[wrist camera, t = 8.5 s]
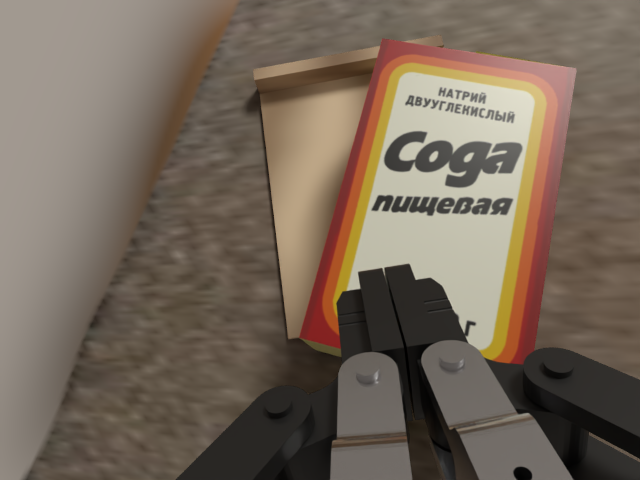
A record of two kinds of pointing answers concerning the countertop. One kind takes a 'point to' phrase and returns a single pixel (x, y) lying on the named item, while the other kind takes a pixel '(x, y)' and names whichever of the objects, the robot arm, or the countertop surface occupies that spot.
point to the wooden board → (311, 156)
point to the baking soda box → (452, 190)
